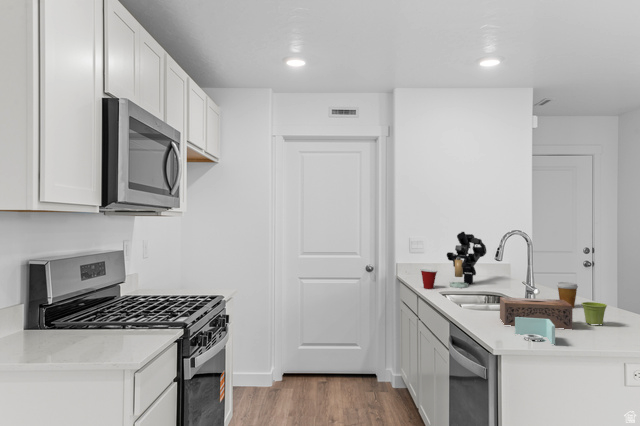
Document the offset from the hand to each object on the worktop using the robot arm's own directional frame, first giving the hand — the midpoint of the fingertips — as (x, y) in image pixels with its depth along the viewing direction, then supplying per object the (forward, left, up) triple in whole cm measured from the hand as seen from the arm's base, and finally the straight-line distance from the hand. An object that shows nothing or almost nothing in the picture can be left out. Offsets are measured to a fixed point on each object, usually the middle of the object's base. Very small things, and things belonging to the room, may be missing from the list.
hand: (457, 266), depth 308 cm
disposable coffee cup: (+19, +75, -13) cm, 78 cm away
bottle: (-1, 0, -7) cm, 7 cm away
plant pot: (+52, +98, -13) cm, 112 cm away
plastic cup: (+20, -8, -13) cm, 26 cm away
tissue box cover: (+71, +81, -14) cm, 109 cm away
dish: (-1, 0, -13) cm, 13 cm away
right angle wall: (+98, +92, -14) cm, 135 cm away
